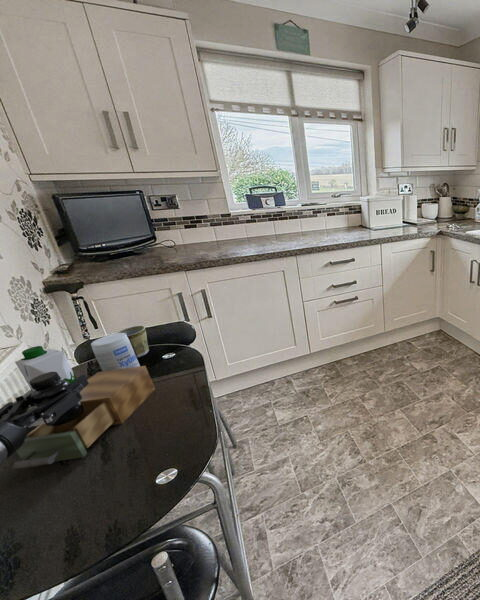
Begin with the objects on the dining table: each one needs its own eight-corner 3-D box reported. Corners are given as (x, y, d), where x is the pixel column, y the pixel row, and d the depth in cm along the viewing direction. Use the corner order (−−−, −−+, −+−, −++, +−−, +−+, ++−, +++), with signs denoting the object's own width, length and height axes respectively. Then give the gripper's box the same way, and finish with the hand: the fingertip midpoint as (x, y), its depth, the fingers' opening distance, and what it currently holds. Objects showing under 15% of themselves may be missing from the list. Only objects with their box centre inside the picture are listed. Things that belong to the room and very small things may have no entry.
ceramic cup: (158, 350, 130) (149, 328, 126) (128, 363, 122) (118, 339, 118) (144, 344, 136) (135, 322, 133) (115, 355, 129) (105, 333, 125)
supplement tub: (133, 381, 109) (115, 343, 104) (101, 387, 108) (81, 348, 102) (147, 366, 118) (132, 330, 113) (118, 371, 117) (101, 335, 111)
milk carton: (77, 396, 104) (47, 341, 97) (94, 401, 101) (64, 344, 93) (41, 415, 96) (6, 356, 89) (58, 420, 93) (23, 360, 86)
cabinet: (122, 423, 89) (109, 397, 86) (68, 431, 88) (52, 405, 85) (155, 389, 104) (145, 365, 101) (109, 395, 103) (97, 371, 100)
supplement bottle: (69, 408, 85) (47, 368, 80) (92, 408, 84) (71, 368, 80) (39, 427, 78) (14, 385, 74) (63, 427, 77) (39, 385, 73)
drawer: (68, 472, 73) (54, 448, 71) (7, 481, 72) (-9, 458, 70) (124, 415, 91) (114, 395, 89) (76, 422, 90) (64, 402, 88)
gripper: (-68, 478, 62) (29, 403, 83) (54, 451, 65) (117, 386, 86) (-93, 448, 59) (14, 378, 80) (36, 421, 63) (106, 362, 84)
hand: (67, 382), depth 83 cm, fingers closed on supplement bottle, 7 cm apart
